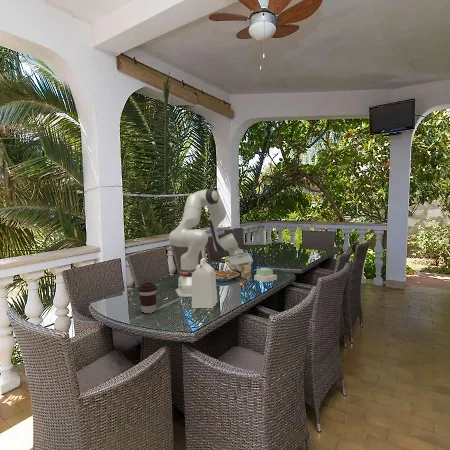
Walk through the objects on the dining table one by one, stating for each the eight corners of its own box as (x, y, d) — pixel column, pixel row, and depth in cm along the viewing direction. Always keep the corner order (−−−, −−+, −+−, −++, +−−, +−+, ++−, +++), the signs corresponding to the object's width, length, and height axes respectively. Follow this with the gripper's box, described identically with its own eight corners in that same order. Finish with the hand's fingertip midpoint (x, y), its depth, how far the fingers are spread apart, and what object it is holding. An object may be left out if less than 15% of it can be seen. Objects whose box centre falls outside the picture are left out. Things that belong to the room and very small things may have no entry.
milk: (212, 309, 188) (210, 261, 186) (191, 308, 191) (189, 260, 188) (217, 302, 200) (215, 256, 198) (197, 301, 202) (196, 256, 200)
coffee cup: (159, 308, 193) (158, 281, 191) (156, 314, 183) (155, 286, 181) (141, 309, 192) (139, 282, 191) (137, 315, 182) (135, 286, 181)
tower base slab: (276, 280, 245) (276, 275, 244) (265, 283, 238) (265, 277, 238) (265, 278, 253) (265, 272, 253) (254, 280, 247) (254, 275, 246)
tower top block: (272, 275, 245) (272, 269, 245) (264, 276, 240) (264, 271, 240) (265, 273, 251) (265, 267, 251) (256, 274, 247) (256, 269, 246)
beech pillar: (251, 277, 254) (250, 265, 253) (245, 278, 251) (245, 266, 250) (246, 276, 258) (246, 264, 257) (241, 277, 255) (240, 265, 254)
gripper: (227, 253, 253) (236, 269, 246) (248, 250, 265) (257, 264, 259) (223, 259, 257) (232, 274, 250) (244, 255, 269) (253, 270, 263)
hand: (245, 269), depth 255 cm, fingers open, 8 cm apart
